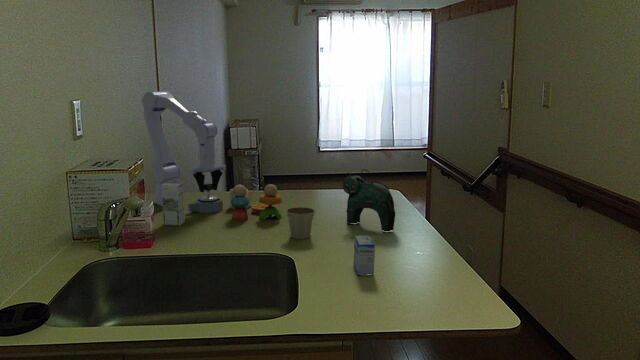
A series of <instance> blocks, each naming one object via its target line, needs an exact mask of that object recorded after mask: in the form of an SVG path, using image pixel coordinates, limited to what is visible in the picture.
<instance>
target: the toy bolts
mask: <svg viewBox="0 0 640 360" xmlns="http://www.w3.org/2000/svg"><path fill="white" fill-rule="evenodd" d="M233 188H234V189H233ZM233 188H232V189H233V193H234V195H235V196H233V197H232V200H231V202H230V201H229V204H230V203H231V205H232V206H234V207H235V208H234V209H232V217H233V221H234V222H245V221H248V220H249V216H248V208H247V209H246V208H245V207H246V206H247V205H248V206H249V204H251V201H249V199H248V197H247V196H245V195H246V189H247V188H246V187H245V185H242V184H237V185H235V186H234V187H233ZM263 193H264V194H261V195H260V197H259V199H258V202H259V204H258V203H257V204H254V205H252V206H251V209H252V213H253V214H255V215H259V220H261V221H265V220H267V218H269V219H272V218H273V215H274V216H275V218H276V219H277V220H281V219H282V218H283V217H282V214H281V212H280V210H279V209H278V208H276V207H275V206H276V205H280V204H282V203H283V202H282V197H281V195H280V194H278V188H277V186H276V185H275V184H272V183H271V184H270V183H269V184H267V185H266V186H265V187H264V190H263ZM273 205H274V206H273Z"/></svg>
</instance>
